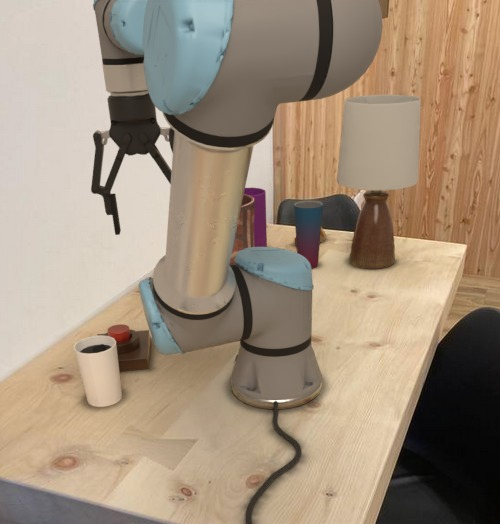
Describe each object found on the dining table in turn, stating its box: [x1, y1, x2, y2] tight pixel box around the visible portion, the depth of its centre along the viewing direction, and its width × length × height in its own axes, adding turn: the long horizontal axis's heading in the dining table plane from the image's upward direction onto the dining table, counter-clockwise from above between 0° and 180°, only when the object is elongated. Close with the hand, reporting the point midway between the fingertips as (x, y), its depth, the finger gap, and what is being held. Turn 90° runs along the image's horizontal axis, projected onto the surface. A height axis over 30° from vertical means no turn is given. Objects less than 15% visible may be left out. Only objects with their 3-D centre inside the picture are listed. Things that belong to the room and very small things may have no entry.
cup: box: [293, 199, 324, 269], centre depth 154 cm, size 7×7×15 cm
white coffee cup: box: [73, 335, 123, 408], centre depth 104 cm, size 7×7×10 cm
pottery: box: [229, 194, 255, 265], centre depth 149 cm, size 18×18×18 cm
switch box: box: [96, 329, 151, 372], centre depth 118 cm, size 12×10×4 cm
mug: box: [244, 187, 268, 247], centre depth 164 cm, size 9×16×15 cm, turn 163°
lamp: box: [336, 94, 422, 270], centre depth 149 cm, size 19×19×37 cm
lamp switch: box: [107, 323, 131, 343], centre depth 117 cm, size 4×4×2 cm
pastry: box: [294, 226, 327, 245], centre depth 172 cm, size 9×7×4 cm
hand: (147, 230), depth 114 cm, fingers open, 10 cm apart
